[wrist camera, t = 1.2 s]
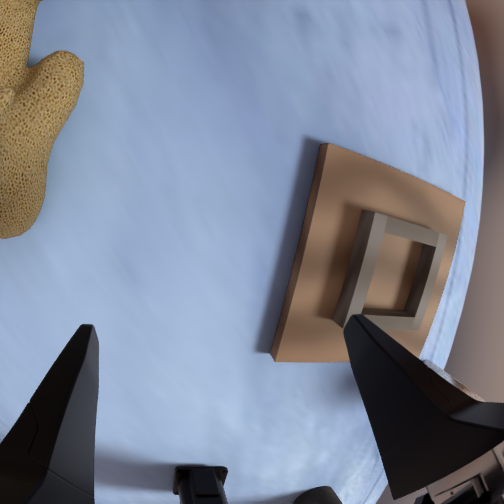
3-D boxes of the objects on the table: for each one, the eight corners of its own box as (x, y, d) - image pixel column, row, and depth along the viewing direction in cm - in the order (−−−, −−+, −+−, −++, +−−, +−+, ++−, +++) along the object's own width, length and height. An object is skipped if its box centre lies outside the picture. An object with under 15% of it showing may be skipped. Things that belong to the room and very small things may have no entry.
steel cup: (422, 390, 39) (478, 437, 26) (398, 395, 37) (456, 448, 25) (437, 358, 38) (499, 402, 25) (414, 361, 36) (479, 412, 24)
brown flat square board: (411, 352, 35) (428, 364, 32) (270, 353, 29) (282, 373, 26) (456, 200, 32) (477, 203, 28) (320, 144, 26) (340, 140, 23)
